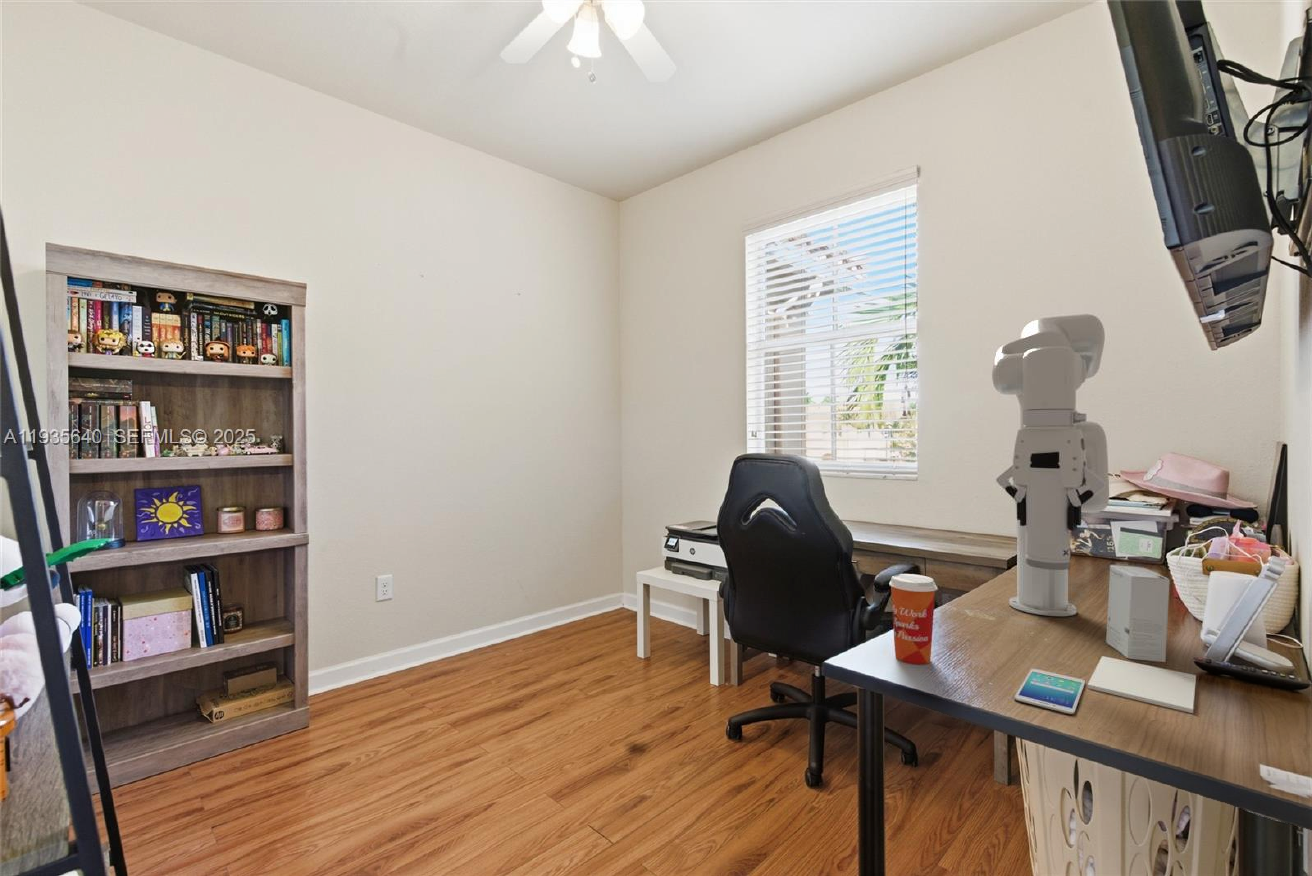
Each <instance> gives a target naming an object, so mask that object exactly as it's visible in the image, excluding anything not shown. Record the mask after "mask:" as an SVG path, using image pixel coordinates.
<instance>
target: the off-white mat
mask: <svg viewBox="0 0 1312 876" xmlns="http://www.w3.org/2000/svg"><path fill="white" fill-rule="evenodd" d="M1196 681H1197V675H1195V674H1191V673H1186V672H1181V671H1178V670H1177V671H1176V670H1171V669H1168V668H1162V667H1156V666H1151V665H1148V664H1147V665H1146V664H1142V663H1137V662H1133V661H1128V660H1124V659H1123V660H1122V659H1119V658H1113V657H1109V656H1103V655H1102V656H1101V658H1100V660H1099V662H1098V663H1097V665H1096V667H1095V669H1094V671H1093V673H1092V675H1091V676H1090V679H1089V681H1088V683H1087V689H1090V690H1094V691H1097V692H1102V693H1106V694H1111V695H1115V696H1119V697H1122V698H1127V699H1131V700H1135V701H1140V702H1144V703H1148V704H1152V705H1156V706H1161V707H1164V708H1167V709H1168V708H1170V709H1173V710H1176V711H1181V712H1186V713H1188V714H1194V707H1195V706H1194V704H1195V695H1196V694H1195V693H1196Z"/></svg>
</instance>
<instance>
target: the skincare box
mask: <svg viewBox="0 0 1312 876" xmlns="http://www.w3.org/2000/svg"><path fill="white" fill-rule="evenodd" d="M1108 582H1109V585H1108V601H1107V619H1106V620H1107V621H1106V637H1105V638H1106V640H1105V642H1106V644H1107V645H1109V646H1110V647H1111V648H1113V649H1115V650H1116V651H1118V652H1119V653H1120V654H1122V655H1123V656H1124V658H1126V659H1130V660H1137V661H1139V660H1140V661H1146V662H1147V661H1150V662H1159V663H1166V661H1167V659H1166V657H1167V639H1168V638H1167V637H1168V633H1167V632H1168V617H1169V602H1170V579H1169V578H1167V577H1166V576H1163V575H1162V574H1160V573H1158V572H1156V571H1154V570H1150V569H1149V568H1145V567H1142V566H1141V567H1140V566H1129V565H1127V566H1126V565H1115V564H1111V565H1109V581H1108Z"/></svg>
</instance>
